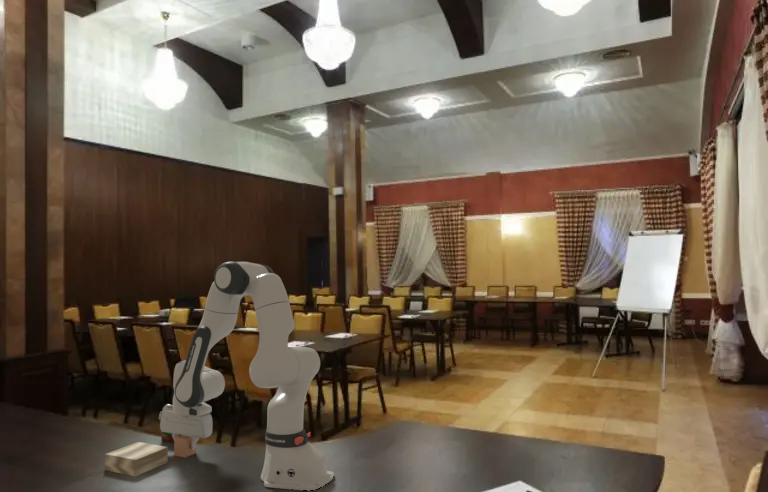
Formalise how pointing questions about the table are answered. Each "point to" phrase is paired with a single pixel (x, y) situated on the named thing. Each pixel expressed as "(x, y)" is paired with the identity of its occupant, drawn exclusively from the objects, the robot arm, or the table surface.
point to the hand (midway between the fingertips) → (185, 447)
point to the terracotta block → (183, 446)
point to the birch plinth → (136, 458)
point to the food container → (166, 433)
